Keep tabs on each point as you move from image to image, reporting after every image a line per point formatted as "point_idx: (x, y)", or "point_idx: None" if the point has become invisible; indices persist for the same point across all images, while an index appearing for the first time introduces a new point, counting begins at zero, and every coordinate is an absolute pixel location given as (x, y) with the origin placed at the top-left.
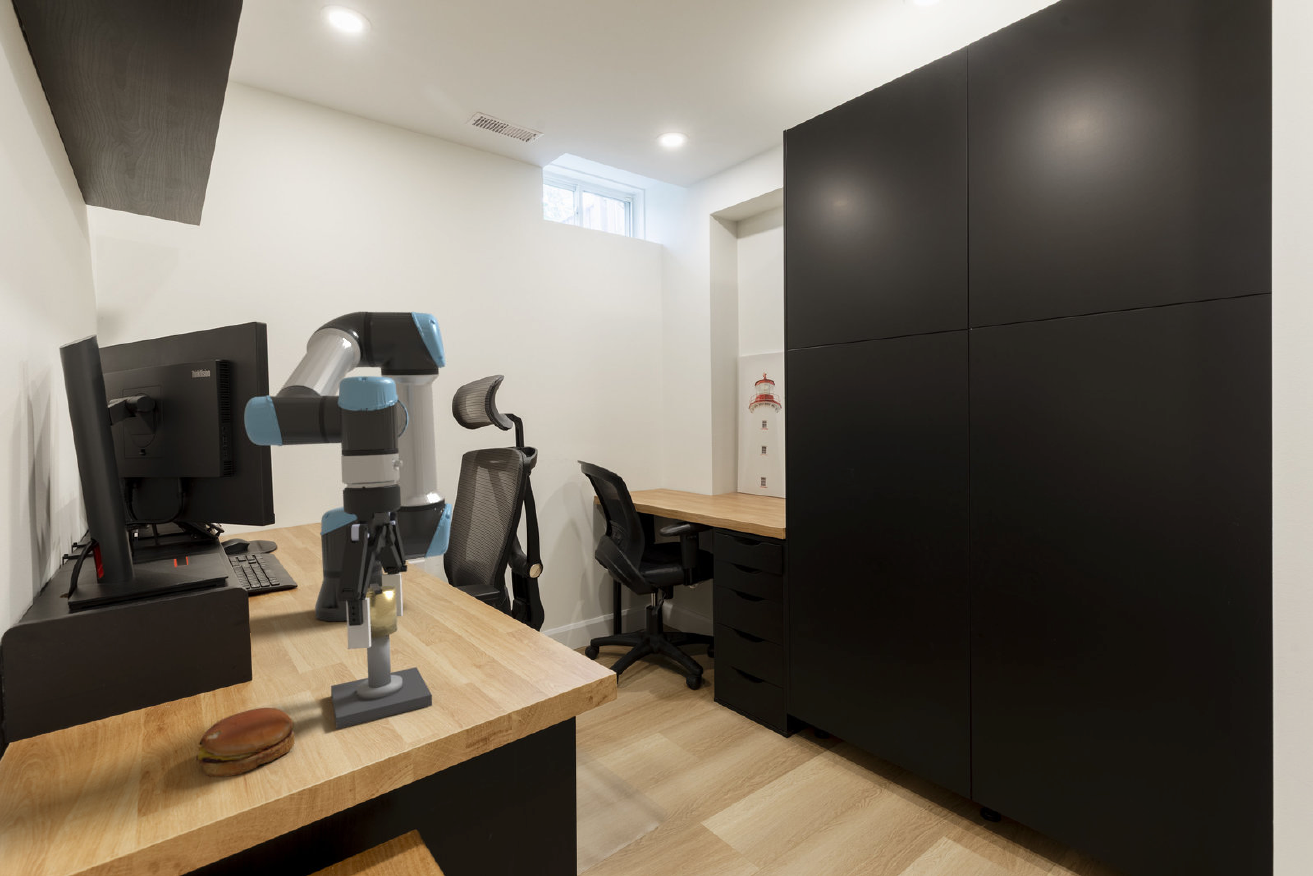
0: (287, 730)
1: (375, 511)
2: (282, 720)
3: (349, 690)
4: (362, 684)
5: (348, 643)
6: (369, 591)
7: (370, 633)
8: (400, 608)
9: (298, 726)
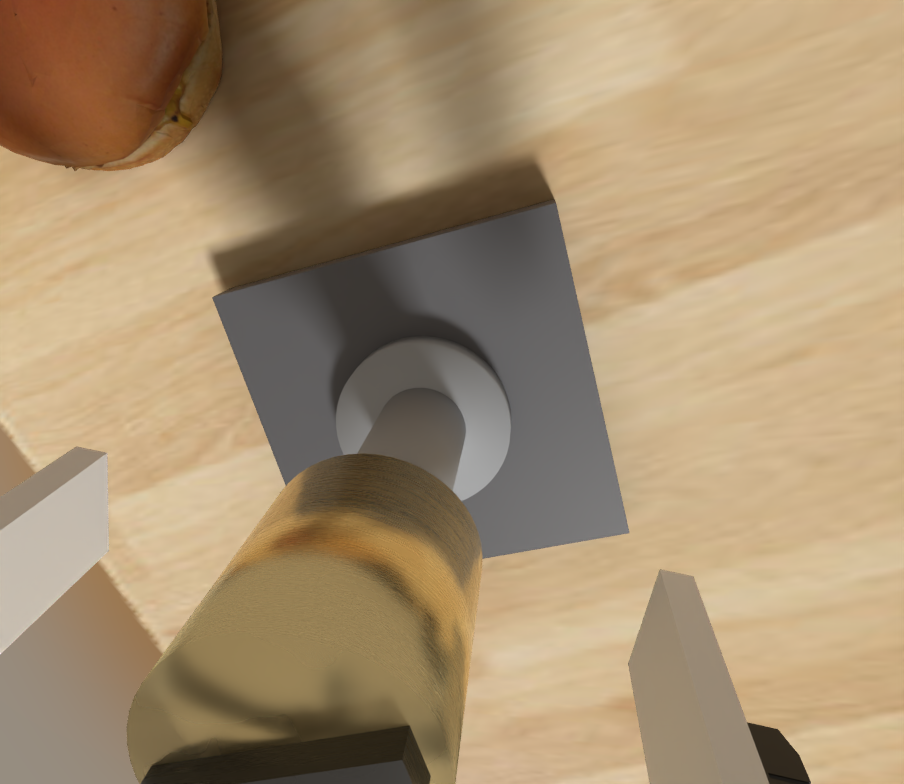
0: (43, 161)
1: None
2: (34, 137)
3: (467, 297)
4: (432, 362)
5: (54, 463)
6: (287, 726)
7: (60, 592)
8: (637, 698)
9: (291, 134)
